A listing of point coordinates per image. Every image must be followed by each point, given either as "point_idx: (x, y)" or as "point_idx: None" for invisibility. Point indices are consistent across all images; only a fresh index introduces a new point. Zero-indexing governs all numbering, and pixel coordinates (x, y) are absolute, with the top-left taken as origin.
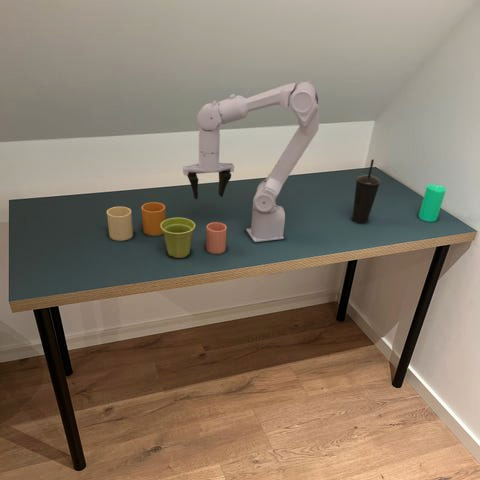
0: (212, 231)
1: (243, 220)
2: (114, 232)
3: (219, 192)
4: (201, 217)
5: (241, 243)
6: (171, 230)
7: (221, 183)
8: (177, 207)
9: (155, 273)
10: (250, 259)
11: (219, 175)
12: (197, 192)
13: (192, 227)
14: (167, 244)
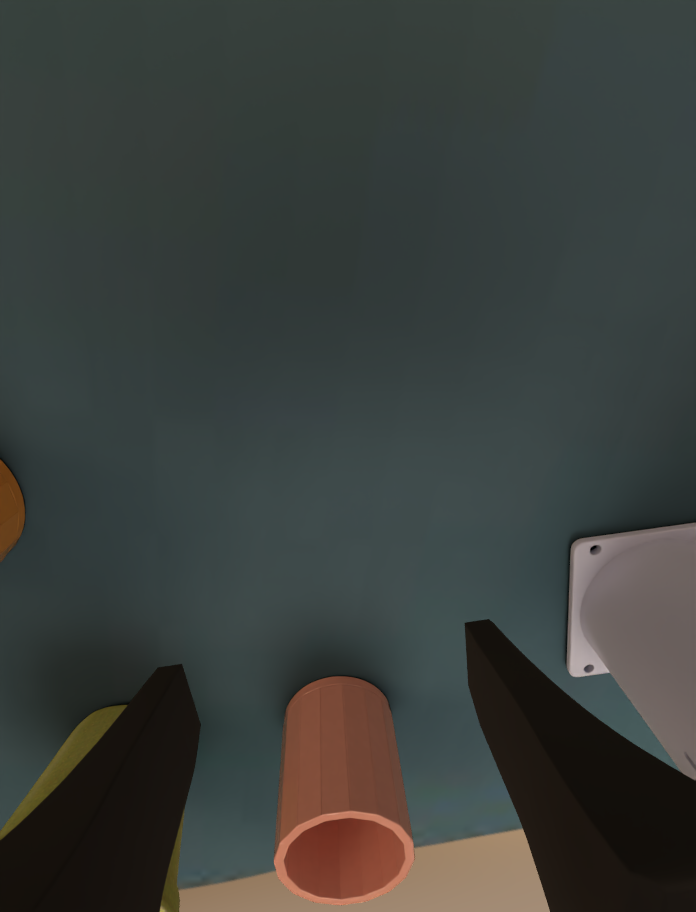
0: (309, 895)
1: (607, 390)
2: None
3: (475, 667)
4: (296, 313)
5: None
6: (35, 803)
7: (538, 832)
8: (77, 62)
9: None
10: (488, 797)
11: (582, 842)
12: (177, 822)
13: (171, 894)
14: None
